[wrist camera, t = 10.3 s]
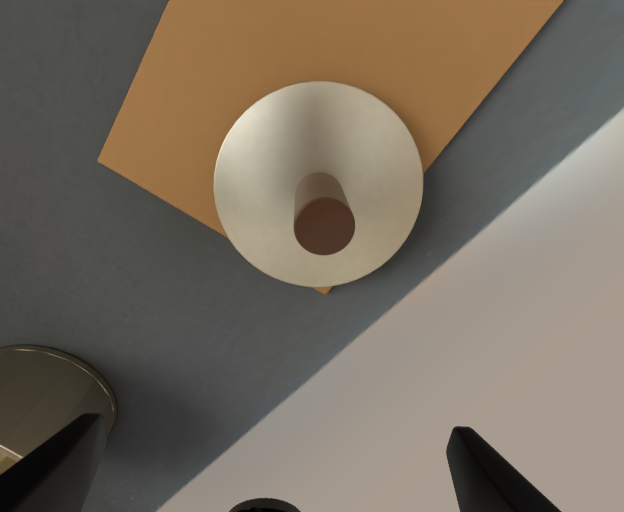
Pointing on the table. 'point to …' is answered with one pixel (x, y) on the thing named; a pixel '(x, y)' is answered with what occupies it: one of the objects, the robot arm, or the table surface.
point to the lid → (318, 183)
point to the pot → (45, 398)
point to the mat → (305, 75)
